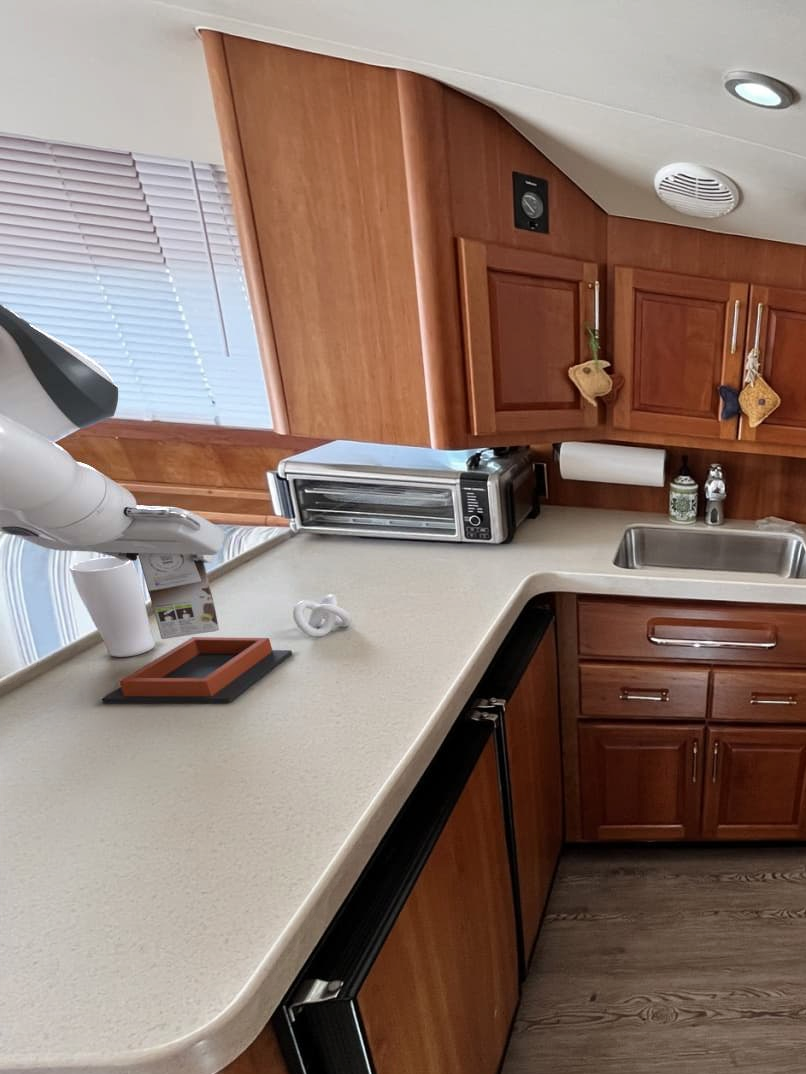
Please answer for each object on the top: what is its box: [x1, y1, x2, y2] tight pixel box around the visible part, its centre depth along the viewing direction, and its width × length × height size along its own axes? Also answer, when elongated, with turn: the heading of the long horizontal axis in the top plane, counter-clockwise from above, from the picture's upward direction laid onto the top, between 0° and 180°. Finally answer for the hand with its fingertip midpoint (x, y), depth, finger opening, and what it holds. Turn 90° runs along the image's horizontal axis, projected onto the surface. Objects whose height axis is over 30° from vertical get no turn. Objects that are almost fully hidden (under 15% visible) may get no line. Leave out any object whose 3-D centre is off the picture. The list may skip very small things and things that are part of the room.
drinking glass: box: [69, 556, 156, 658], centre depth 99 cm, size 7×7×15 cm
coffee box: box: [137, 553, 220, 640], centre depth 92 cm, size 9×6×16 cm
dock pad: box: [100, 636, 293, 704], centre depth 96 cm, size 16×15×3 cm
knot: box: [292, 593, 353, 638], centre depth 113 cm, size 8×8×6 cm
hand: (170, 557), depth 90 cm, fingers closed on coffee box, 8 cm apart
